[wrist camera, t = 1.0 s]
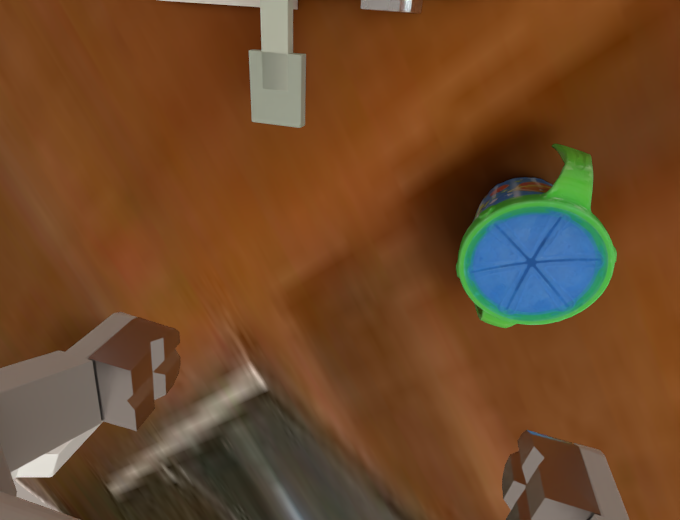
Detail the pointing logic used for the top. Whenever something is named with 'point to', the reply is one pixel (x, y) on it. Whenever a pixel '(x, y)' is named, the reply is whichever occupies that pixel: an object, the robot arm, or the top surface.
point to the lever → (277, 69)
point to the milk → (52, 458)
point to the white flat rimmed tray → (232, 2)
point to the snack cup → (537, 248)
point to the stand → (393, 5)
